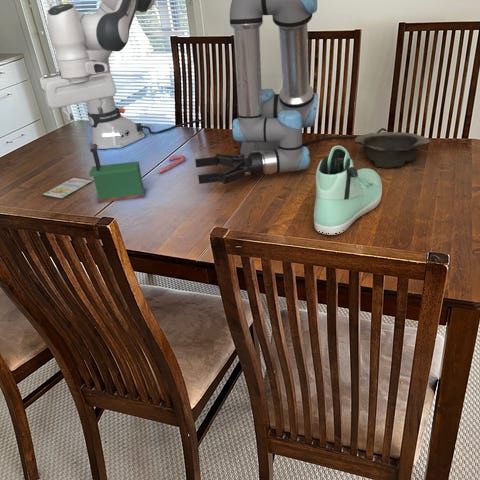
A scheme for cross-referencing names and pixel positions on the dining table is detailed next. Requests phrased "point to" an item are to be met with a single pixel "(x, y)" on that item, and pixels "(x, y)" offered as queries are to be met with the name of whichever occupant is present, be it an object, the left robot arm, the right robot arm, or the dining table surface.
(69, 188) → the baking ingredient package
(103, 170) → the lid
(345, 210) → the sneaker
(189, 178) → the dining table surface
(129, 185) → the chest
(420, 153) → the dining table surface
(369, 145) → the stone bowl
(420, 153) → the dining table surface
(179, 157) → the candy cane
